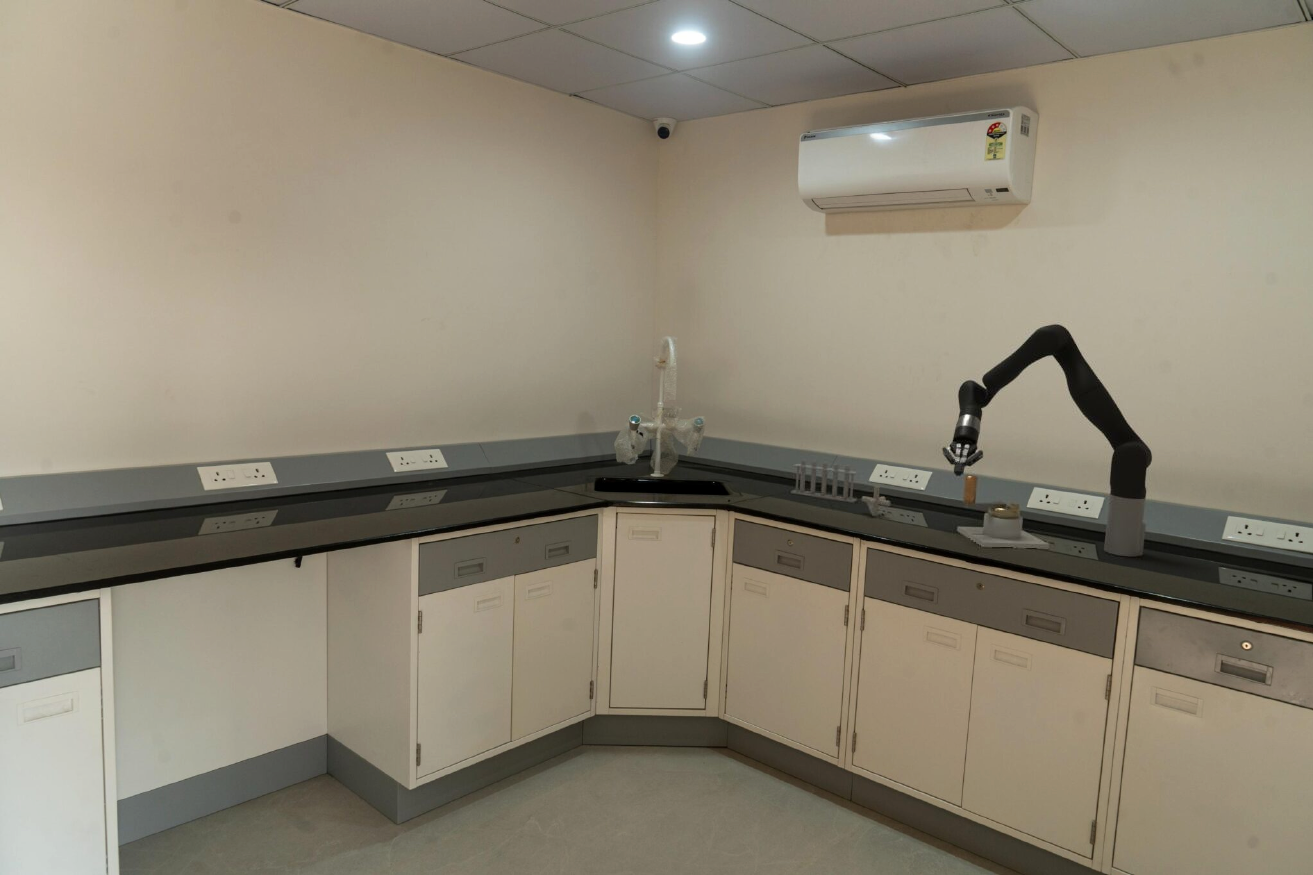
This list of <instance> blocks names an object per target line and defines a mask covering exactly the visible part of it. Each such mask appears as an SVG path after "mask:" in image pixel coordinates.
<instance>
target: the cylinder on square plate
mask: <svg viewBox="0 0 1313 875" xmlns="http://www.w3.org/2000/svg"><path fill="white" fill-rule="evenodd" d="M1023 519H1024V517H1022V516H1021V515H1020V516H1019V518H1013V519H1010V518H1000V517H994V516H991V515H989V514H988V512H985V513H984V516H983V526H981V527H980V526H957V529H956V530H957V532H958V533H959V534H961V535H962V536H964V537H965V538H967V539H969V538H970V539H969V540H971V541H972V540H973V541H972V542H974V543H975V542H976V543H975V544H977V545H978V544H979V546H980V545H981V546H980V547H982V548H992V547H1013V548H1012V549H1026V548H1037V549H1036V550H1049V548H1050V544H1049V543H1048V542H1046V541H1044V540H1042V539H1040V538H1039V537H1036V536H1035V535H1032V534H1030V533H1028V532H1026V531H1025V530H1023V522H1024V521H1023ZM1016 547H1017V548H1016Z"/></svg>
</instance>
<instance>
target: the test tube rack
mask: <svg viewBox="0 0 1313 875" xmlns="http://www.w3.org/2000/svg"><path fill="white" fill-rule="evenodd" d="M800 461H801V463H795V464H792V467H796V477H795V478H796V479H795V480H796V481H795V489H794V490H791V491H790V494H795V495H801V496H807V497H813V498H818V499H819V498H820V499H827V500H833V501H838V502H845V503H850V504H851V503H855V502H857V501H858V499H857V498H854V497H853V491H854V490H853V489H854V477H855V475H857V474H859V471H854V470H850V468H851V466H850V465H848V464H846V465H845V467H844V469H840V467H839V466H840V465H839V464H838V463H834V464H833V468H832V467H829V466H828V465H829V463H828V462H822V466H818V464H817V461H816V460H812V462H811V465H809V464H807V460H806V459H801V460H800ZM806 469H811V474H810V475H811V476H810V491H807V490H805V488H806V487H805V485H806ZM817 470H820V471H822V474H821V475H822V476H821V489H820V490H821V491H820V492H816V483H817V482H816V481H817V480H816V478H817ZM828 472H833V473H832V474H833V475H832V487H831V488H832V490H831V491H832V492H831V493H832V494H827V493H826V492H827V480H828V478H827V477H828ZM839 473H841V474H844V478H843V479H844V480H843V494H842V496H840V495H839V496H838V495H837V494H838V481H839ZM799 474H800V475H799ZM799 476H800V479H799ZM850 476H851V477H850ZM850 478H851V479H850ZM799 480H800V481H799ZM850 481H851V482H850ZM849 484H850V486H849ZM849 488H850V489H849ZM849 490H850V492H849ZM849 493H850V494H849Z"/></svg>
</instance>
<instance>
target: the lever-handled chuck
mask: <svg viewBox="0 0 1313 875" xmlns="http://www.w3.org/2000/svg"><path fill="white" fill-rule="evenodd" d="M977 488H978V476H977V475H972V474H966V475H965V476H964V487H963V489H964V490H963V500H962V503H963V504H964V505H963V507H964V508H965V509H988V511H987V513H988V514H989V515H991V516H994V517H1000V518H1010V519H1013V518H1019V516H1021V515H1020V514H1021V508H1020V503H1017V502H1011V503H1010V505H1009V504H1008V505H1007V503H1006V502H1003V501H1000V500H993V501H991V502H983V501H982V502H976V501H977V500H976V499H977V498H976V497H977Z"/></svg>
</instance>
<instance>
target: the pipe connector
mask: <svg viewBox="0 0 1313 875" xmlns="http://www.w3.org/2000/svg"><path fill="white" fill-rule="evenodd" d="M880 489H881V486H876V485H874V488H873V497H870V496H861V502H863V503H866V505H867V506H872V513H871V514H872V516H873V517H878V515H879V505H881V506H887V507H890V505H891V501H890V500H886V497H885V496H880Z"/></svg>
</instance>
